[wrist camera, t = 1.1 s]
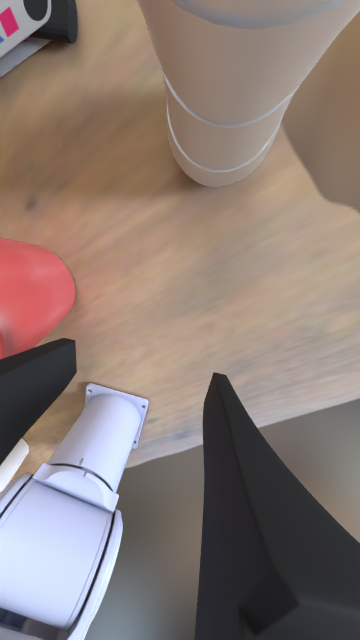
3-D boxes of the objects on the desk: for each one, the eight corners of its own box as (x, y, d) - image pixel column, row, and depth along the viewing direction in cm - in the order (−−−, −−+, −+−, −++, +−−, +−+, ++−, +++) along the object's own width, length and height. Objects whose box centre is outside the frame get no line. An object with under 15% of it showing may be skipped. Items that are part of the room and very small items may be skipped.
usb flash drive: (77, -6, 12) (66, -26, 11) (79, 106, 14) (71, 97, 14) (-53, -27, 13) (-73, -47, 12) (-32, 86, 15) (-48, 76, 14)
